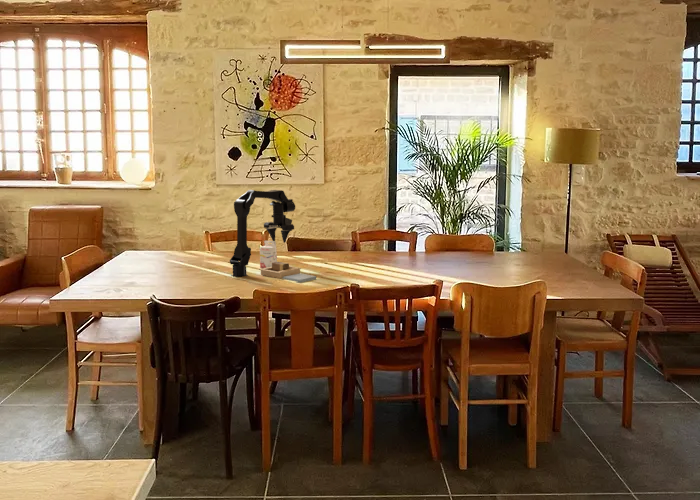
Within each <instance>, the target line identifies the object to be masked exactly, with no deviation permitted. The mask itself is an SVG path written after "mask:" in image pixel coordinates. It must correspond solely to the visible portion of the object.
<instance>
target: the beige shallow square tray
mask: <svg viewBox="0 0 700 500" xmlns="http://www.w3.org/2000/svg"><path fill="white" fill-rule="evenodd" d="M302 269H303V268H302V267H296V266H291V265H289V269H287V270H282V271H278V272H277V271H272V267H267V268H259V270H260V276H261V275H262V276H266V277H272V278H277V279H283V277H284V276H289V275H294V274H298V273H301V270H302Z"/></svg>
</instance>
